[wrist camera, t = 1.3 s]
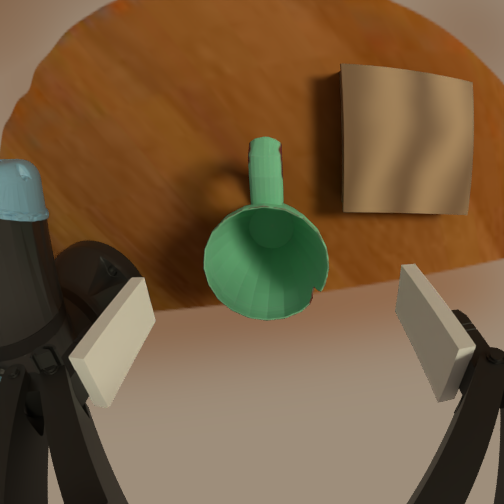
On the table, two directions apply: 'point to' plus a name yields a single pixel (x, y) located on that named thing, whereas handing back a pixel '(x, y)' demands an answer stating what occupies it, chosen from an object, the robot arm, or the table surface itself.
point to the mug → (265, 247)
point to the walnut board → (405, 141)
